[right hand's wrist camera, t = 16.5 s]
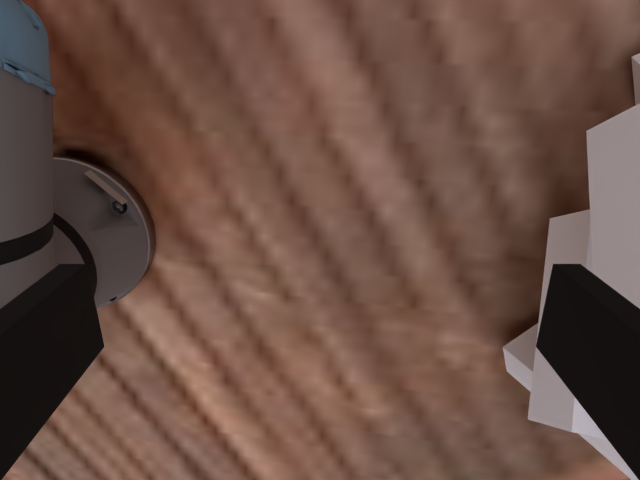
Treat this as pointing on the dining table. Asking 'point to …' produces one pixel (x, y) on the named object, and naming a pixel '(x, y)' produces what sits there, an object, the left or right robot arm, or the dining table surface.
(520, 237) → the dining table surface
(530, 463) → the dining table surface
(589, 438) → the pile of blocks
